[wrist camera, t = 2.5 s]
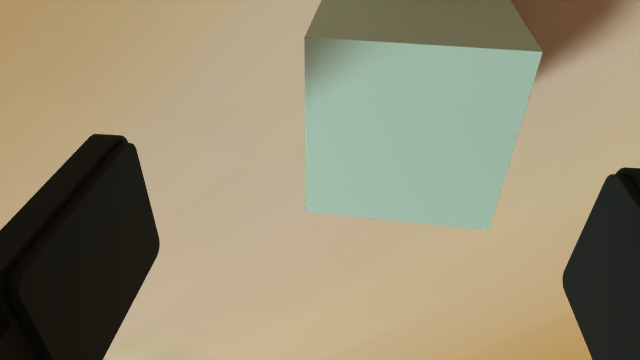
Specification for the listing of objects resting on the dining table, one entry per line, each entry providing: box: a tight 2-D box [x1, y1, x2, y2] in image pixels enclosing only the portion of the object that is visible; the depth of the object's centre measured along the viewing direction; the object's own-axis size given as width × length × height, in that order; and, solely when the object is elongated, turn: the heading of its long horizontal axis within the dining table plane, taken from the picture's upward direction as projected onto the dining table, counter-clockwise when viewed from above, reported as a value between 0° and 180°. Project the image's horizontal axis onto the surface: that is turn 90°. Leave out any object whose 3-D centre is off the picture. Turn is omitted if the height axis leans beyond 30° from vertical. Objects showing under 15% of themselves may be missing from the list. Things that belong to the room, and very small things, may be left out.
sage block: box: [305, 0, 543, 230], centre depth 14 cm, size 5×5×6 cm
